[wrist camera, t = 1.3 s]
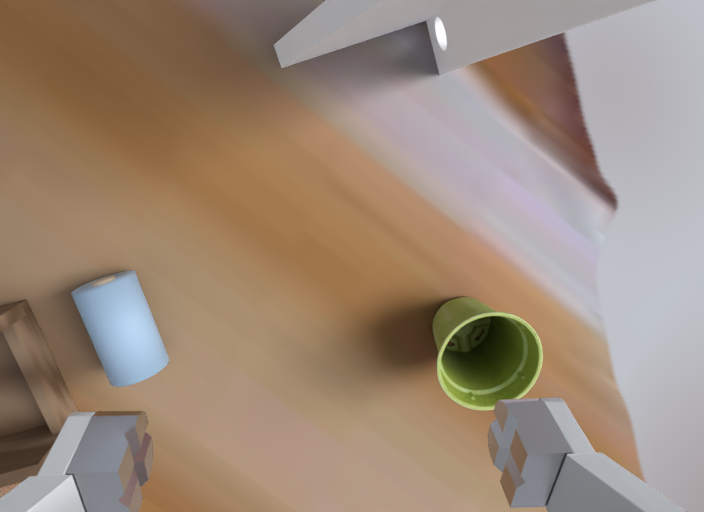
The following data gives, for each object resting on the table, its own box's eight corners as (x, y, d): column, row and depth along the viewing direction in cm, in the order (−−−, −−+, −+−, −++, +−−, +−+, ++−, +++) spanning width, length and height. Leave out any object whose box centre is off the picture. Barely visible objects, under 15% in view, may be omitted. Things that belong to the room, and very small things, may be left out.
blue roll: (176, 351, 50) (160, 378, 45) (123, 365, 50) (101, 394, 45) (142, 263, 47) (121, 281, 42) (86, 278, 47) (58, 298, 42)
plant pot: (471, 379, 54) (502, 427, 45) (398, 340, 52) (416, 383, 43) (521, 307, 52) (563, 343, 44) (448, 264, 50) (477, 293, 42)
